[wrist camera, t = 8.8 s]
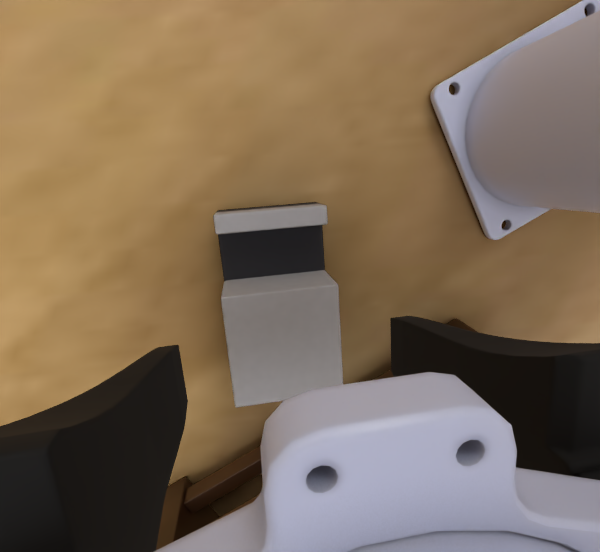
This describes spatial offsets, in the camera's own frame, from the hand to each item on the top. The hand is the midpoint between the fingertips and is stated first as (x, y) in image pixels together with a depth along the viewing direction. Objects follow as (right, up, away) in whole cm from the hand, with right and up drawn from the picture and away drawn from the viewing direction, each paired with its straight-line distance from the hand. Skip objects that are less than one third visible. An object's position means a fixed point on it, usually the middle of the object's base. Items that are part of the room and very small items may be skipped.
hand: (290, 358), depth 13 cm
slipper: (-1, +2, +6) cm, 6 cm away
